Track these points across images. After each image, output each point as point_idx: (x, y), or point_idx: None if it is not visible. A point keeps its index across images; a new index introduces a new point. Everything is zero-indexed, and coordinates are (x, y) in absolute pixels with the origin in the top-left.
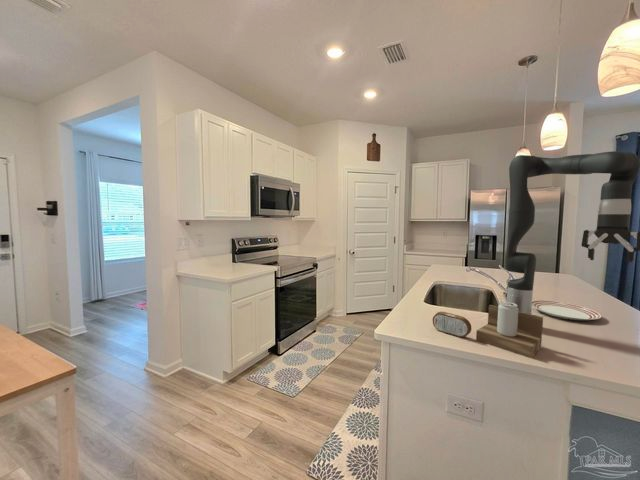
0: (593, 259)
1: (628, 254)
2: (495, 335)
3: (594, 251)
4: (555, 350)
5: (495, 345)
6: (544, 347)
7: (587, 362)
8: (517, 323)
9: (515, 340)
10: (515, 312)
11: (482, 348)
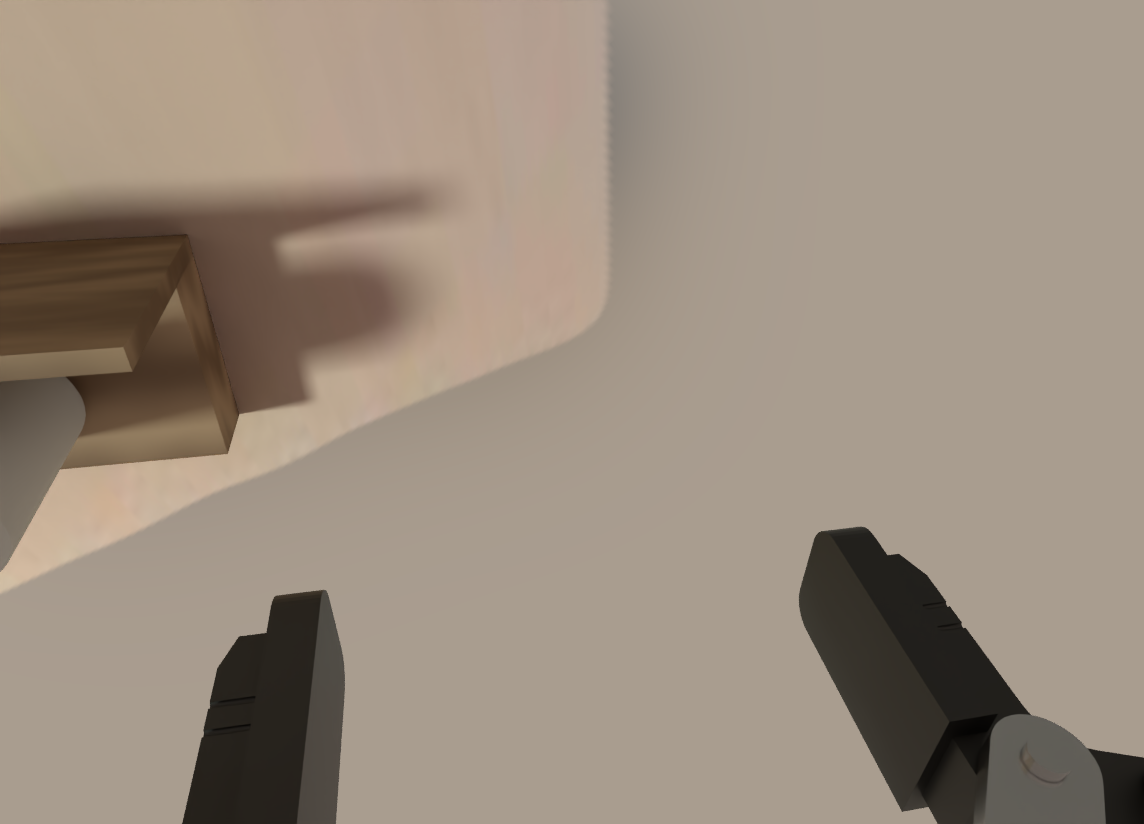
0: (330, 619)
1: (892, 759)
2: None
3: (307, 774)
4: (252, 191)
5: None
6: (190, 199)
7: (426, 225)
8: (49, 445)
9: (123, 442)
10: (18, 538)
11: None
